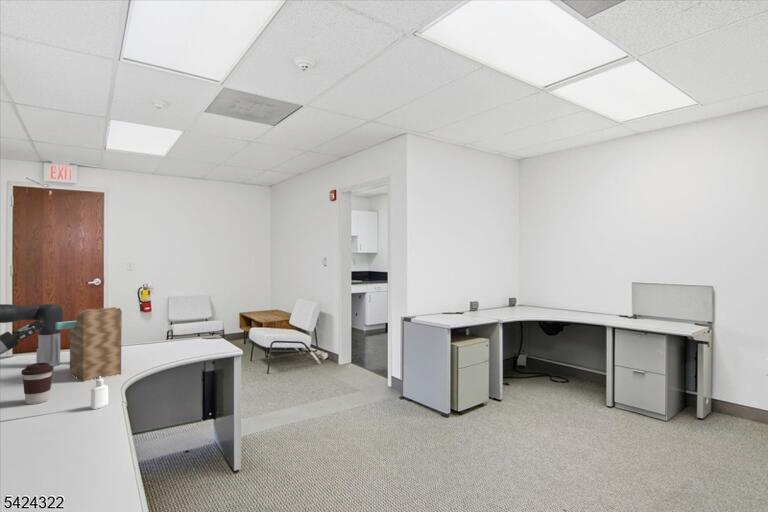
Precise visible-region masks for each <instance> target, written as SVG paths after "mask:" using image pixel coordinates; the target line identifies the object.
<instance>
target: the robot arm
mask: <svg viewBox="0 0 768 512" xmlns="http://www.w3.org/2000/svg"><path fill="white" fill-rule="evenodd" d="M63 318H64V311H63V308H62V307H61V306H60V305H58V304H52V303H51V304H49V303H47V304H46V303H45V304H44V303H43V304H38V305H20V304H9V303H8V304H6V303H5V304H2V303H1V304H0V324H7V323H8V324H9V323H14V322H15V323H16V322H21V321H33V322H30V323H28V324H25V325H23V326H20V328H17V329H15V330H13V331H12V332H10V331H6V332H4V333H1V334H0V356H1V355H3V354H5V353H7V352H8V351H11V350H12V349H14V348H16V347H17V346H19V344H20V343H19V340H21V341H24V339H27V338H29V337H31V336H32V335H35V334H36V333H37V332H38V348H36V357H35V359H36V363H49V365H50V366H53V367H55V366H54V365H56V366H59V365H60V364H61V330H62V329H60V330H58V329H56V323H57V322H64V320H63ZM58 364H59V365H58Z"/></svg>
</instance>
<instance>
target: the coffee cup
mask: <svg viewBox="0 0 768 512" xmlns="http://www.w3.org/2000/svg"><path fill="white" fill-rule="evenodd" d="M54 368H55V366H50V365H49V363H30V364H27V365H26V367H25V368H24V369H22V370H21V374H20V375H22V376H23V379H22V383H23V394H24V398H25V399H24V400H25V404H27V405H35V404H36V405H37V404H42V403H45V402H47V401H49V400H50V393H51V392H50V391H51V388H52V380H53V379H52V378H53V375H52V373H53V371H54Z"/></svg>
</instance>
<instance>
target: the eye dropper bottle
mask: <svg viewBox="0 0 768 512" xmlns="http://www.w3.org/2000/svg"><path fill="white" fill-rule="evenodd" d="M104 382H105V381H104V378H101V376H99V378H98V379H95V386H94V387H92V388H91V390H90V409H92V410H98V408H99V409H102V407H103V408H105V407H107V406H108V405H109V386H108V385H107V384H105V383H104Z"/></svg>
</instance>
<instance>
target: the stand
mask: <svg viewBox="0 0 768 512" xmlns="http://www.w3.org/2000/svg"><path fill="white" fill-rule="evenodd" d="M122 315H123V314H122V310H121V308H120V307H118V308H117V307H103V308H102V307H101V308H90V309H89V308H88V309H79V310H77V311H76V321H77V326H75V328H69V329H70V330H69V375H70V374H71V375H70V376H72V375H73V376H72V377H74V376H75V377H74V378H76V377H77V378H76V379H78V380H79V379H80V380H79V381H81V380H82V381H81V382H87V381H86V380H88V381H92V380H91V379H93V380H96V379H95V378H99V376H101V377H104V378H106V376H109V377H113V376H112V375H114V376H118V375H117V374H119V375H122V318H123V317H122Z"/></svg>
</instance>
